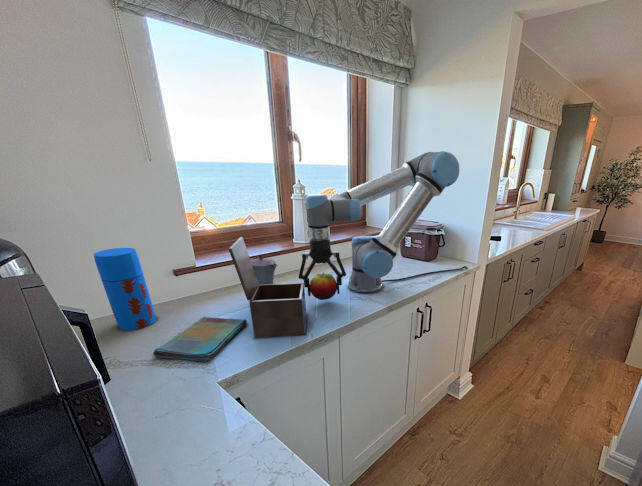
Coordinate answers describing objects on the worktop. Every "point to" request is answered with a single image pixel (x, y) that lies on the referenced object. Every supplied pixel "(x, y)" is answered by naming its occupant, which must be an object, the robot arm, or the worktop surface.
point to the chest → (278, 310)
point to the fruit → (323, 286)
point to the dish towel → (201, 339)
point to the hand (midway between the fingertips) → (324, 293)
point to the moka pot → (264, 269)
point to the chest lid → (244, 267)
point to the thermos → (125, 287)
